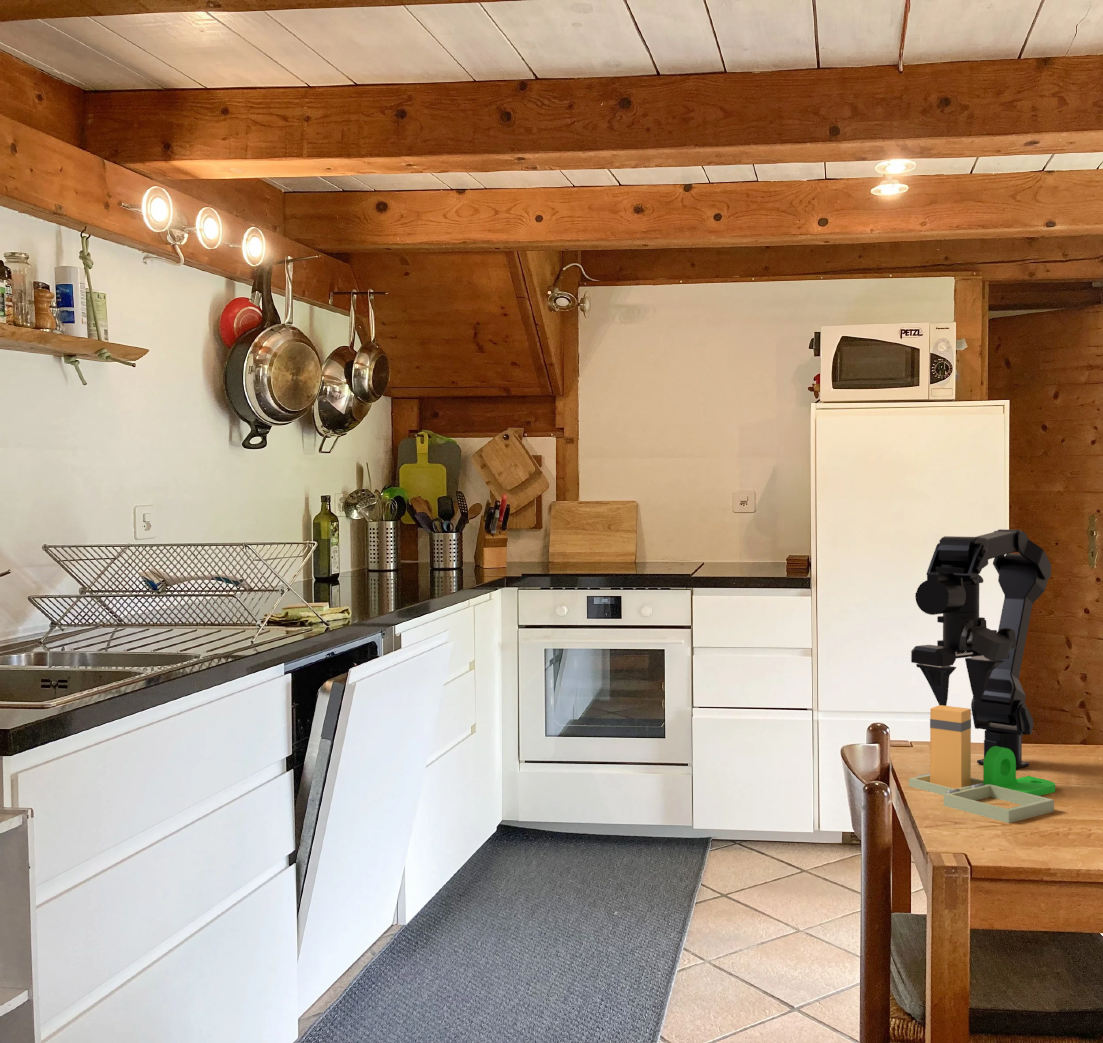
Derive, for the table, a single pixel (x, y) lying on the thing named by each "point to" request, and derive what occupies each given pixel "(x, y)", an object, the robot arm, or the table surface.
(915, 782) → the lid
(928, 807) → the table surface
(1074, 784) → the table surface
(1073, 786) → the table surface
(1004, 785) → the mechanical part
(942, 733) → the block
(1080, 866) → the table surface
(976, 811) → the case
